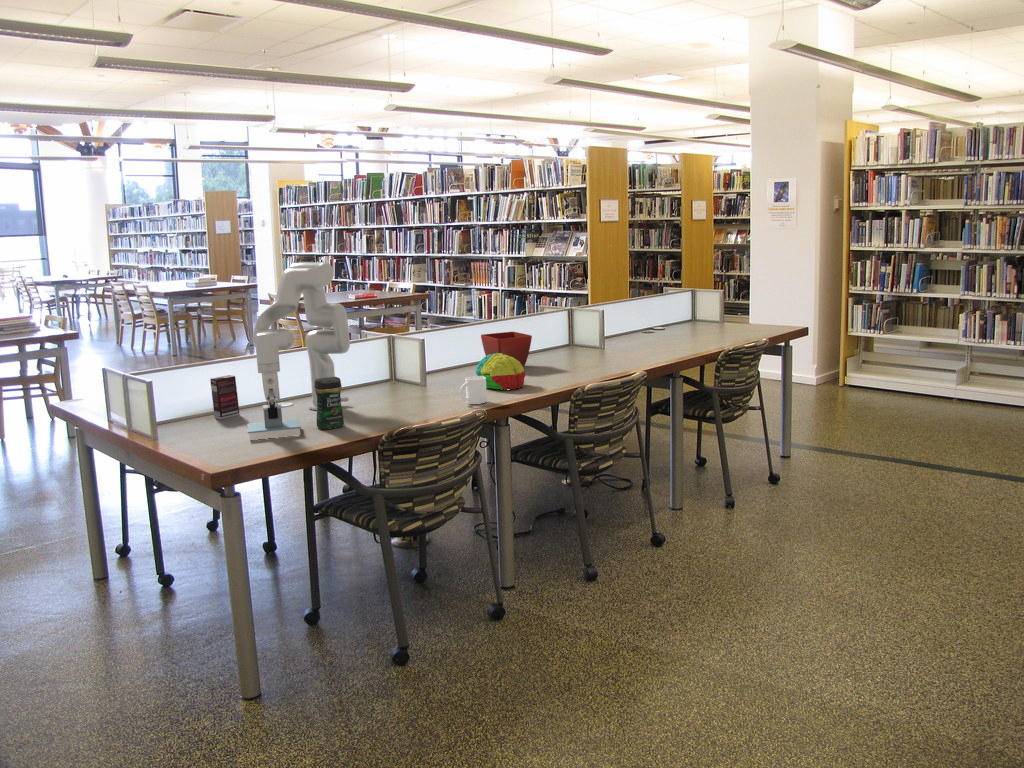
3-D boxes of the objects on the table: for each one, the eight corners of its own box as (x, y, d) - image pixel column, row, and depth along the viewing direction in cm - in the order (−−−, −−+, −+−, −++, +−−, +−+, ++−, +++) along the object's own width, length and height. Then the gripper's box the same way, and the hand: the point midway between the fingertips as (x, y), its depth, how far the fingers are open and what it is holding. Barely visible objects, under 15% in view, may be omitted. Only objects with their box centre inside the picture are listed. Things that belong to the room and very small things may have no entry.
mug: (465, 407, 332) (464, 382, 330) (454, 404, 339) (453, 379, 337) (490, 403, 339) (489, 378, 337) (479, 399, 346) (478, 375, 344)
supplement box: (233, 413, 335) (229, 374, 332) (240, 415, 332) (236, 375, 328) (213, 418, 328) (209, 378, 325) (220, 419, 325) (216, 379, 322)
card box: (282, 422, 302) (280, 403, 300) (283, 426, 296) (281, 406, 295) (264, 424, 300) (262, 405, 299) (264, 428, 295) (263, 408, 293)
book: (299, 429, 308) (298, 418, 308) (301, 437, 296) (300, 426, 295) (248, 434, 303) (247, 423, 302) (248, 443, 291) (247, 431, 290)
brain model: (466, 385, 373) (466, 352, 370) (498, 379, 386) (498, 347, 383) (502, 395, 357) (502, 361, 353) (533, 388, 369) (534, 355, 366)
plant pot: (533, 369, 412) (532, 335, 408) (499, 373, 402) (498, 338, 399) (514, 363, 428) (513, 331, 425) (481, 368, 419) (479, 334, 415)
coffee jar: (322, 431, 302) (318, 380, 298) (314, 427, 308) (310, 377, 305) (347, 427, 307) (344, 377, 303) (338, 423, 313) (335, 374, 310)
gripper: (280, 370, 287) (285, 420, 290) (278, 362, 303) (282, 409, 306) (257, 372, 285) (262, 422, 288) (257, 364, 301) (261, 411, 304)
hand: (273, 415), depth 297 cm, fingers open, 8 cm apart
